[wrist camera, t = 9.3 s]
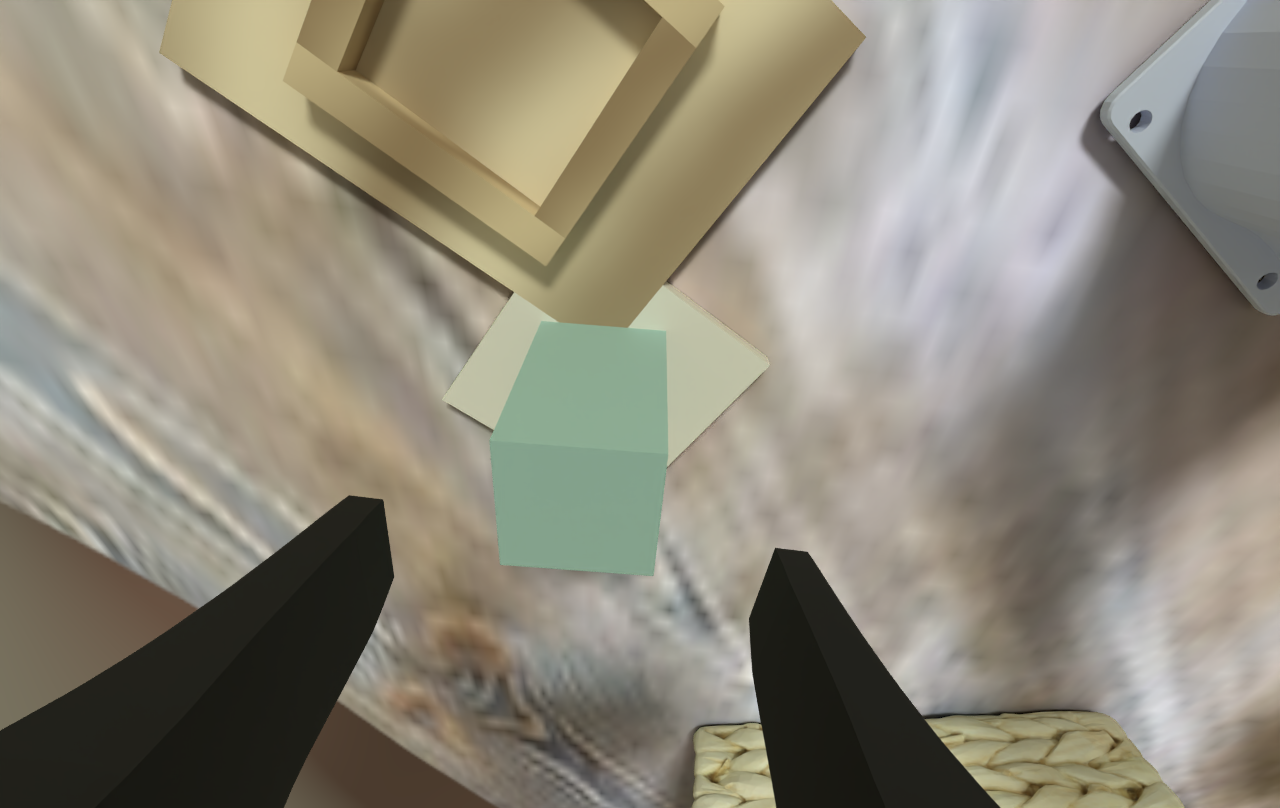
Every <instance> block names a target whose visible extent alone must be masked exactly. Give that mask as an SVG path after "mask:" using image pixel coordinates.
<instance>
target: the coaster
mask: <svg viewBox="0 0 1280 808" xmlns="http://www.w3.org/2000/svg"><path fill="white" fill-rule="evenodd" d="M541 321H547V322H558V321H556V320H555V319H553V318H552V317H550V316H549V315H547V314H546V313H544V312H543V311H541V310H540V309H538V308H537V307H535V306H534V305H532V304H531V303H530V302H528V301H527V300H525V299H524V298H522V297H521V296H519V295H518V294H516V293H515V292H514V293H513V294H512V296H511V297H510V299H509V300H508V302H507V303H506V305H505V306H504V308H503V309H502V311H501V312H500V314H499V315H498V317H497V318H496V320H495V321H494V322H493V324H492V325H491V327H490V328H489V330H488V331H487V333H486V334H485V336H484V337H483V339H482V340H481V342H480V343H479V345H478V346H477V348H476V349H475V351H474V352H473V354H472V355H471V357H470V358H469V360H468V361H467V363H466V364H465V366H464V367H463V369H462V370H461V372H460V373H459V375H458V376H457V377H456V379H455V380H454V382H453V383H452V385H451V386H450V388H449V389H448V391H447V392H446V394H445V396H444V397H443V399H442V400H443V401H445V402H447V403H448V404H450V405H452V406H453V407H455V408H457V409H459V410H460V411H462V412H464V413H465V414H467V415H469V416H471V417H472V418H474V419H476V420H477V421H479V422H481V423H483V424H484V425H486V426H488V427H489V428H491V429H493V430H494V429H495V427H496V424H497V422H498V420H499V417H500V415H501V413H502V410H503V408H504V406H505V404H506V401H507V399H508V397H509V394H510V392H511V390H512V387H513V385H514V383H515V380H516V378H517V376H518V374H519V371H520V369H521V367H522V364H523V362H524V360H525V357H526V355H527V353H528V351H529V348H530V346H531V344H532V341H533V339H534V337H535V334H536V332H537V330H538V327H539V325H540V323H541ZM628 328H636V329H649V330H661V331H666V351H667V407H668V461H667V466H668V465H670V464H671V463H672V462H673V461H674V460H675V459H676V458H677V457H678V456H679V455H680V454H681V453H682V452H683V451H684V450H685V449H686V448H687V447H688V446H689V445H690V444H691V443H692V442H693V441H694V440H695V439H696V438H697V437H698V436H699V435H700V434H701V433H702V432H703V431H704V430H705V429H706V428H707V427H708V426H709V425H710V424H711V423H712V422H713V421H714V420H715V419H716V418H717V417H718V416H719V415H720V414H721V413H722V412H723V411H724V410H725V409H726V408H727V407H728V406H729V405H730V404H731V403H732V402H733V401H734V400H735V399H736V398H737V397H738V396H739V395H740V394H741V393H742V392H743V391H744V390H745V389H746V388H747V387H748V386H749V385H750V384H752V383H753V382H754V381H755V380H756V379H757V378H758V377H759V376H760V375H761V374H762V373H763V372H764V371H765V370H766V369H767V368H768V367H769V366H770V364H769V361H768V358H767V356H765V355H764V354H763V353H761V352H760V351H759V350H757V349H756V348H755V347H753V346H752V345H751V344H749V343H748V342H747V341H745V340H744V339H743V338H741V337H740V336H739V335H737V334H736V333H735V332H733V331H732V330H731V329H729V328H728V327H727V326H725V325H724V324H723V323H721V322H720V321H719V320H717V319H716V318H715V317H713V316H712V315H711V314H709V313H708V312H707V311H705V310H704V309H703V308H701V307H700V306H699V305H697V304H696V303H695V302H693V301H692V300H691V299H689V298H688V297H687V296H685V295H684V294H683V293H681V292H680V291H679V290H677V289H676V288H675V287H673V286H672V285H671V284H669V283H668V282H667V281H666V282H665V283H664V284H663V286H662V287H661V288H660V289H659V290H658V292H657V293H656V294H655V295H654V297H653V298H652V299H651V300H650V301H649V303H648V304H647V305H646V306H645V308H644V309H643V310H642V311H641V312H640V314H639V315H638V316H637V317H636V318H635V320H634V321H633V322H632V323H631V325H630V326H629V327H628Z"/></svg>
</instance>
